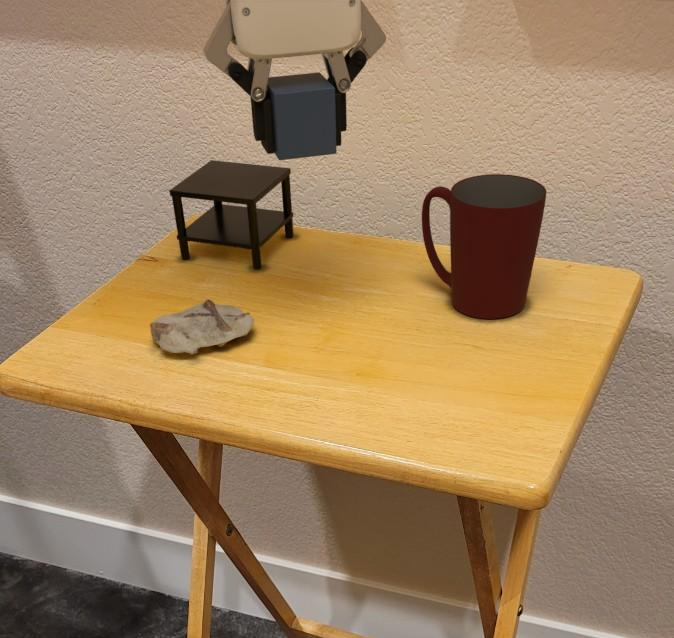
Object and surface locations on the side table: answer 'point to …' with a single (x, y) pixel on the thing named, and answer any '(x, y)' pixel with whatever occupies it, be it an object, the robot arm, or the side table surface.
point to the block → (303, 115)
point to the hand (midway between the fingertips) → (300, 142)
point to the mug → (489, 241)
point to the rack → (233, 207)
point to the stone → (200, 327)
